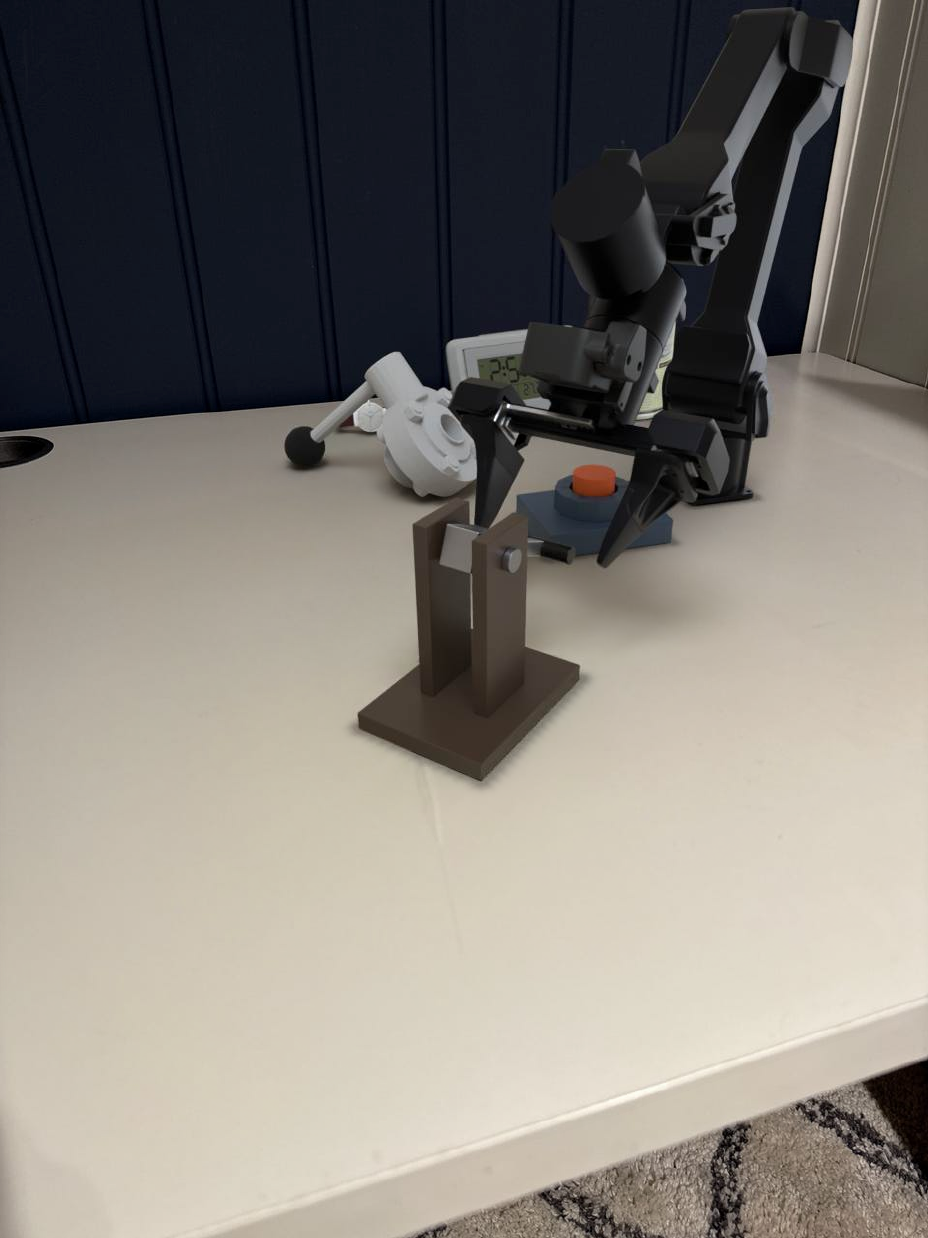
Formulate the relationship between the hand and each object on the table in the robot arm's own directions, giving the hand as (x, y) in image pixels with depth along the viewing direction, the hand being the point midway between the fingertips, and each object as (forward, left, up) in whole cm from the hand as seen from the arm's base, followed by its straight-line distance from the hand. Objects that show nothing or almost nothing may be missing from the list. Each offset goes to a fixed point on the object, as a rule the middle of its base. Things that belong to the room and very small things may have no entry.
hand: (537, 548), depth 59 cm
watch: (+3, -50, -8) cm, 51 cm away
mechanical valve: (+5, -34, -8) cm, 35 cm away
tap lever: (+4, +3, +1) cm, 5 cm away
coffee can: (-28, -48, -8) cm, 56 cm away
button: (-11, -17, -4) cm, 21 cm away
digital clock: (-13, -44, -8) cm, 46 cm away
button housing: (-11, -17, -8) cm, 22 cm away
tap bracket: (+6, +5, -8) cm, 11 cm away
